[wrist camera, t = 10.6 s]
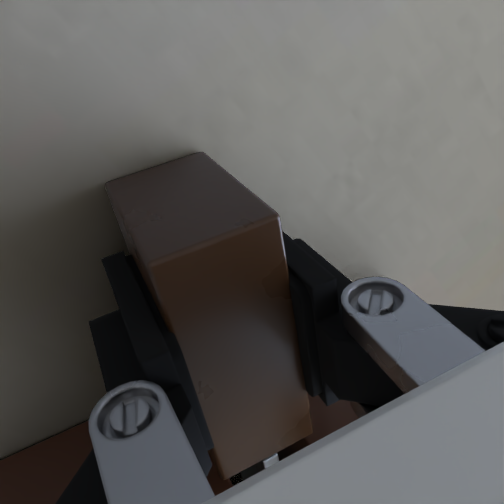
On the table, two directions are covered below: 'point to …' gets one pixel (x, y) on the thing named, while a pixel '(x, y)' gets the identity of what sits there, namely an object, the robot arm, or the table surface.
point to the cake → (80, 445)
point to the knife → (221, 302)
